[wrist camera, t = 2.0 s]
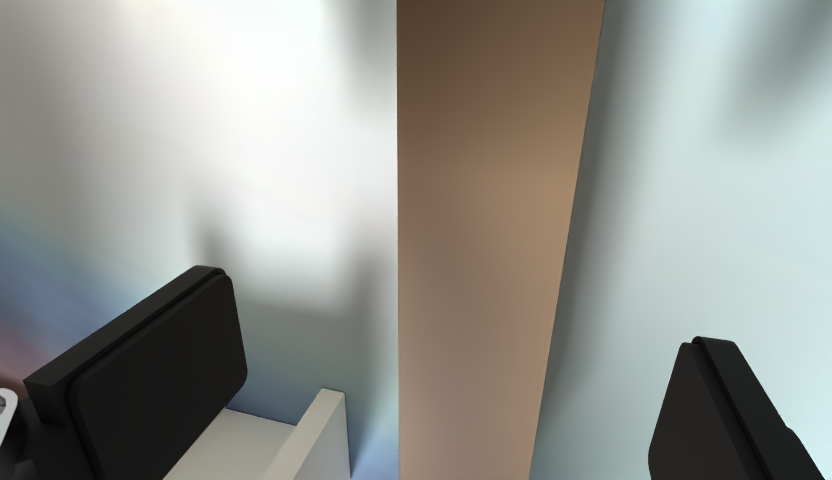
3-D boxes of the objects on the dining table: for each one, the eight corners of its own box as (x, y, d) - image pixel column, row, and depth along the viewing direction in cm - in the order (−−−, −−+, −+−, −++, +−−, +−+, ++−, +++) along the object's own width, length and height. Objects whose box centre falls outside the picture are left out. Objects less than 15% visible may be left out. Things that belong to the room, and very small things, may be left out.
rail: (603, -64, 10) (635, -133, 6) (525, 456, 17) (513, 601, 13) (456, -58, 11) (389, -116, 7) (436, 436, 18) (396, 565, 14)
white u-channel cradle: (301, -247, 11) (-55, -631, 4) (350, 480, 21) (261, 671, 14) (65, -212, 12) (-427, -453, 6) (215, 443, 22) (84, 600, 16)
